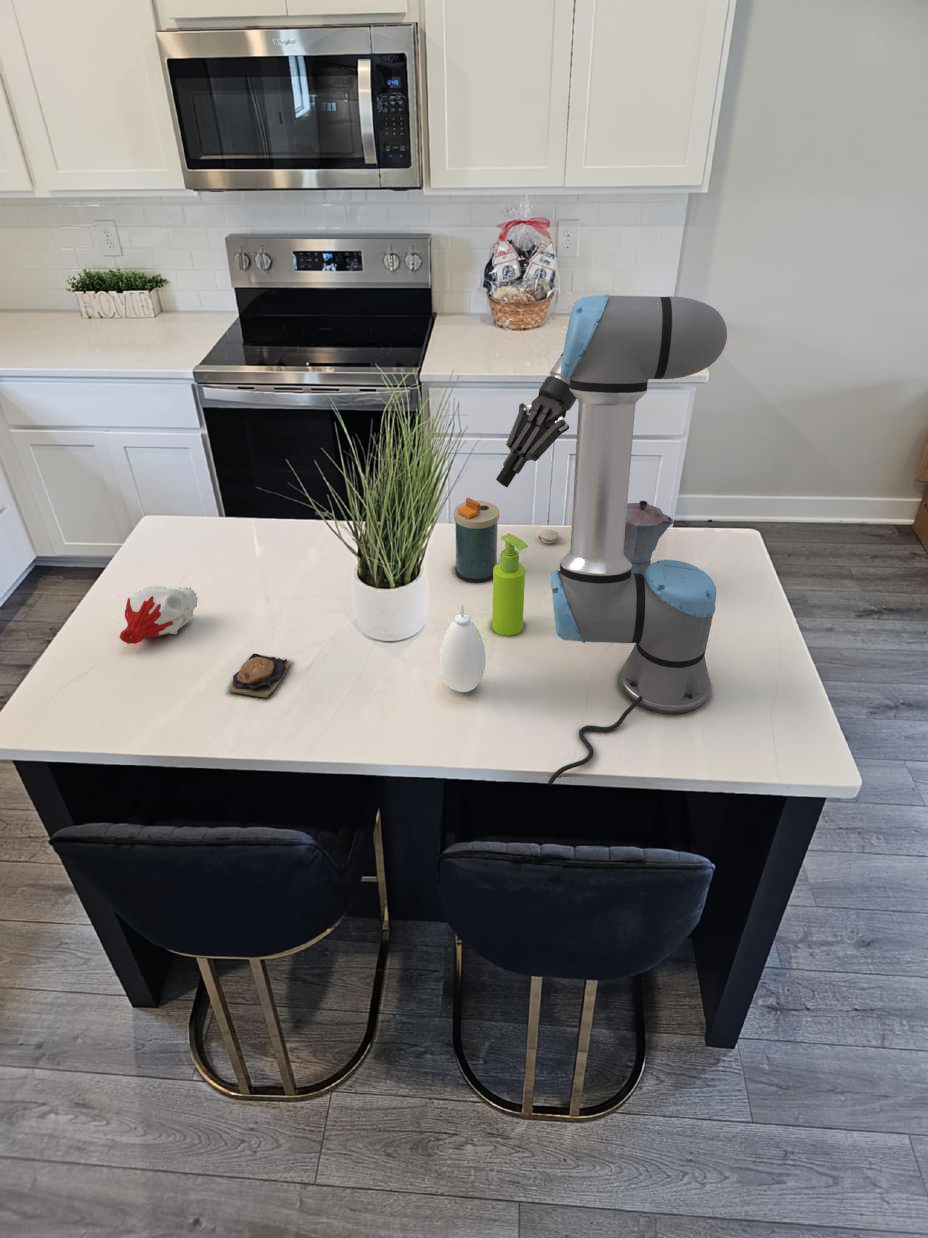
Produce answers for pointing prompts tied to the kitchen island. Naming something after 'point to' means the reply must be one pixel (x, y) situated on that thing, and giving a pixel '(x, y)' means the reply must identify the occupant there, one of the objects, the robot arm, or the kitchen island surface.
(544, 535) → the macaroon
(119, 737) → the kitchen island surface
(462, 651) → the sauce bottle
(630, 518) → the moka pot
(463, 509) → the orange l-shaped block
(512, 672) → the kitchen island surface
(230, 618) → the kitchen island surface
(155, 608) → the white decorated figurine
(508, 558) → the soap dispenser
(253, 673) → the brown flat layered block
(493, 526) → the travel mug
